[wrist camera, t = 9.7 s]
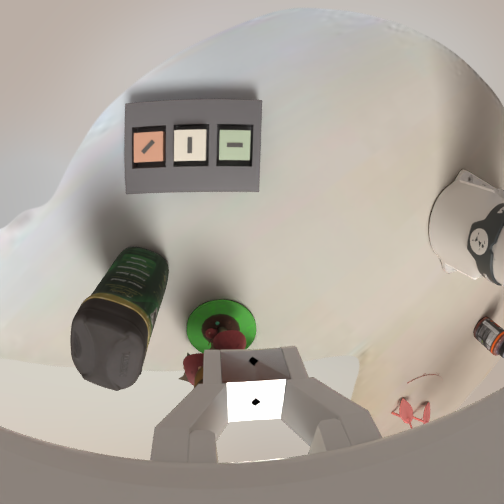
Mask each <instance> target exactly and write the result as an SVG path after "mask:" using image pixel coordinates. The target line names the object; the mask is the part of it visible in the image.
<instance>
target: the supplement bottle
mask: <svg viewBox="0 0 504 504" xmlns="http://www.w3.org/2000/svg"><path fill="white" fill-rule="evenodd" d="M474 337H475V338H476V339H477V340H478V341H479V342H480V343H481V344H483V345H484V346H485V347H486V348H487V349H488V350H489V351H490V352H491V353H492V354H493V355H496V356H497V355H500V356H502V357H503V358H504V330H503V329H502V328H501V327H500V326H499V325H497V324H496V323H495V322H494V321H492V320H491V319H490V318H488V317H484V318H483V319H481V320H480V321H479V322H478V324H477V325H476V327H475V330H474Z"/></svg>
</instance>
